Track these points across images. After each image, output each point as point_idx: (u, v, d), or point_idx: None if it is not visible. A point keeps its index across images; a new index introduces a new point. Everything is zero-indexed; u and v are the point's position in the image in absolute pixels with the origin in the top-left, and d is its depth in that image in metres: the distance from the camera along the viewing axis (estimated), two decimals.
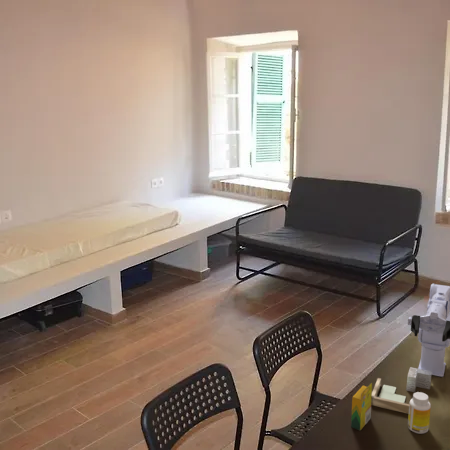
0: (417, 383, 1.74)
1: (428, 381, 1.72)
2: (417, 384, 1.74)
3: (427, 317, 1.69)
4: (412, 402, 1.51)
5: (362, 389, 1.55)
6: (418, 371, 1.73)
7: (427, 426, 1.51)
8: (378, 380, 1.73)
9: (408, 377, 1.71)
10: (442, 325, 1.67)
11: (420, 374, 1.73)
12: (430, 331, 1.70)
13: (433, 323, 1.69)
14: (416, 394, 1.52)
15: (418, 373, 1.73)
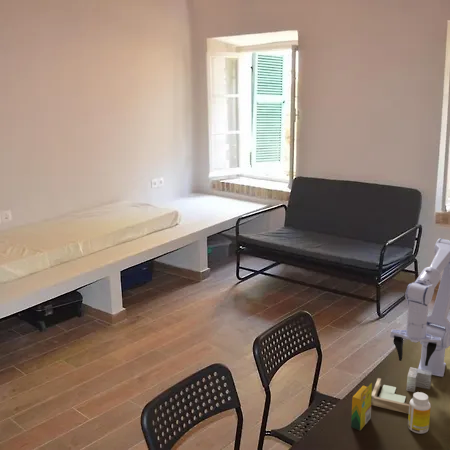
0: (417, 383, 1.74)
1: (428, 381, 1.72)
2: (417, 384, 1.74)
3: None
4: (412, 402, 1.51)
5: (362, 389, 1.55)
6: (418, 371, 1.73)
7: (427, 426, 1.51)
8: (378, 380, 1.73)
9: (408, 377, 1.71)
10: None
11: (420, 374, 1.73)
12: None
13: None
14: (416, 394, 1.52)
15: (418, 373, 1.73)
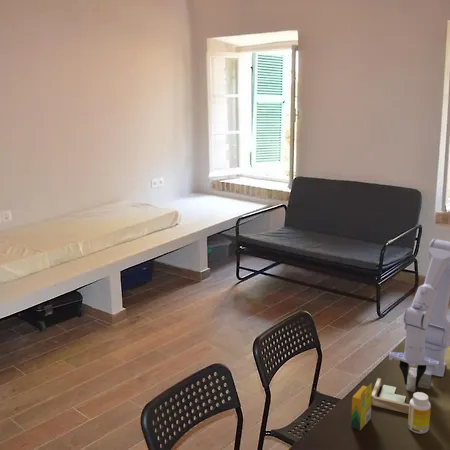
0: None
1: (428, 381, 1.72)
2: None
3: None
4: (412, 402, 1.51)
5: (362, 389, 1.55)
6: None
7: (427, 426, 1.51)
8: (378, 380, 1.73)
9: (408, 377, 1.71)
10: None
11: None
12: None
13: None
14: (416, 394, 1.52)
15: None
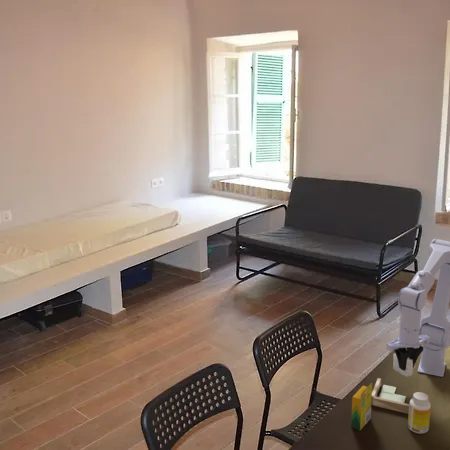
0: None
1: None
2: None
3: None
4: (412, 402, 1.51)
5: (362, 389, 1.55)
6: None
7: (427, 426, 1.51)
8: (378, 380, 1.73)
9: (407, 362, 1.66)
10: None
11: None
12: None
13: None
14: (416, 394, 1.52)
15: None
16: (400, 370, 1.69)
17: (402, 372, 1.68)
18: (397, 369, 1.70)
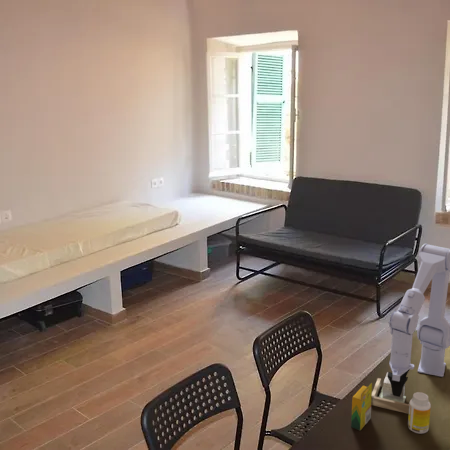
0: None
1: None
2: None
3: None
4: (412, 402, 1.51)
5: (362, 389, 1.55)
6: None
7: (427, 426, 1.51)
8: (378, 380, 1.73)
9: (404, 387, 1.65)
10: None
11: None
12: None
13: None
14: (416, 394, 1.52)
15: None
16: (394, 396, 1.67)
17: (397, 398, 1.66)
18: (389, 396, 1.67)
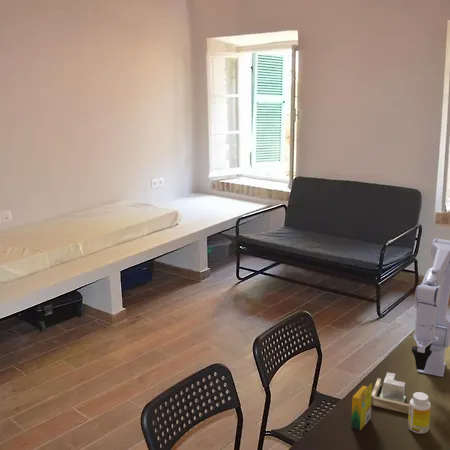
0: None
1: None
2: None
3: None
4: (412, 402, 1.51)
5: (362, 389, 1.55)
6: (391, 379, 1.69)
7: (427, 426, 1.51)
8: (378, 380, 1.73)
9: (404, 387, 1.65)
10: None
11: (393, 379, 1.69)
12: None
13: None
14: (416, 394, 1.52)
15: None
16: (394, 396, 1.67)
17: (397, 398, 1.66)
18: (389, 396, 1.67)
